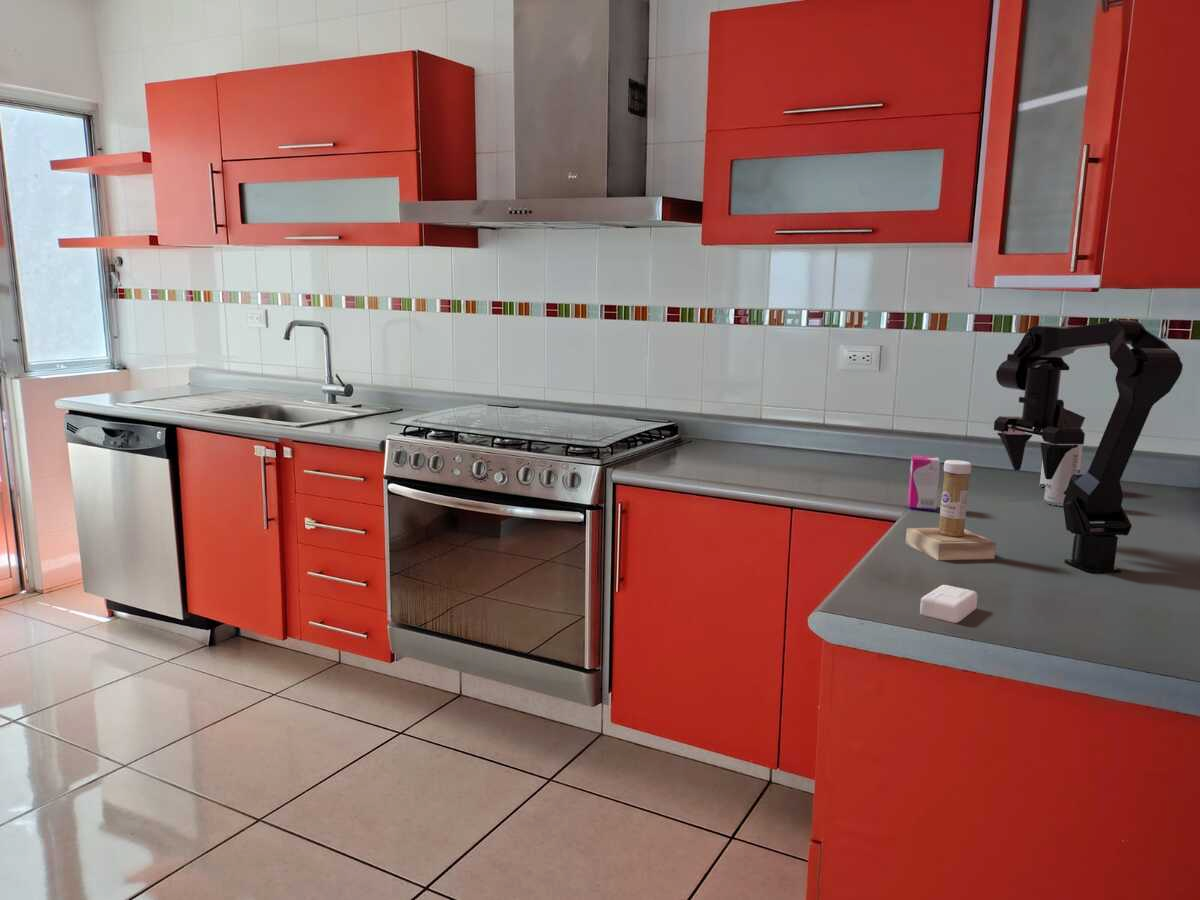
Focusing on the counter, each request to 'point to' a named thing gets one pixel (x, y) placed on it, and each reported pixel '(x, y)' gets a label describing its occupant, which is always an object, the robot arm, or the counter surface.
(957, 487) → the sprinkles bottle
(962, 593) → the soap
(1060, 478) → the energy drink can
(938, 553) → the beech tray
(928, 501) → the supplement box
